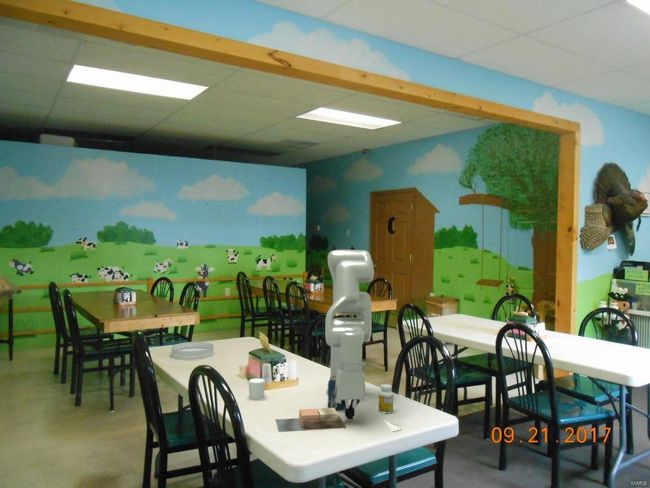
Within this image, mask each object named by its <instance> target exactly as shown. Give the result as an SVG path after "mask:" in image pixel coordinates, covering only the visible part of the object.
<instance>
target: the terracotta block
mask: <svg viewBox="0 0 650 488" xmlns="http://www.w3.org/2000/svg"><path fill="white" fill-rule="evenodd" d="M298 418H299V422H300V425H301V427H302V428H303V427H305V420H319V413H318V408H303V409H300V408H299V411H298Z"/></svg>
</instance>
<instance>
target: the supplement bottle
mask: <svg viewBox="0 0 650 488" xmlns="http://www.w3.org/2000/svg"><path fill="white" fill-rule="evenodd" d="M392 389H393V388H392V385H390V384H388V383H387V384H386V383H384V384H383V383H382V384H381V385H380V391H379V392H378V412H379V411H380V412H379V413H381V412H385V413H388V414H390V413H389V412H392V411H393V412H394V392H393V391H392ZM393 412H392V413H393ZM385 413H384V414H385Z"/></svg>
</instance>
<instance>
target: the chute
mask: <svg viewBox="0 0 650 488" xmlns="http://www.w3.org/2000/svg"><path fill="white" fill-rule="evenodd" d="M275 423H276V426H277V431H278V433H286V432H302V431H303V432H304V431H321V430H338V429H347V426H346V425H345V422H344V421H343V420H342V418H341V416H340V415H338V419H322V420H305V427H303V428H302V427H301V425H300V422H299V417H298V418H297V417H293V418H277V419H275Z"/></svg>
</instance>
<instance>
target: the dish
mask: <svg viewBox="0 0 650 488" xmlns="http://www.w3.org/2000/svg"><path fill="white" fill-rule="evenodd" d="M170 352H171V353H170V357H171V358H172V359H173V358H174V360H177V361H197V360H196V359H202V360H205V359H204V358H207V357H210V356H212V355H213V354H215V351H214V344H213V343H210V342H204V341H191V342H190V341H188V342H181V343H176V344H173V345H172V346H171V351H170ZM213 356H214V355H213ZM213 356H212V357H213ZM210 358H211V357H210ZM207 359H208V358H207Z"/></svg>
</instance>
